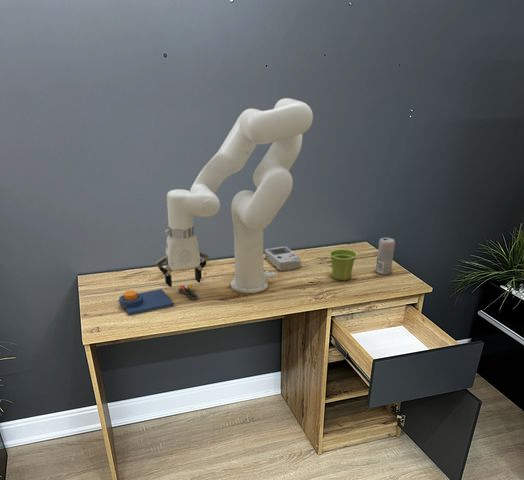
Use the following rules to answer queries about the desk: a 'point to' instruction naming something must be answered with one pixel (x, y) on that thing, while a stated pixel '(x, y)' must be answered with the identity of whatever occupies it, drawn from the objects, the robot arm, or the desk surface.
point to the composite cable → (188, 291)
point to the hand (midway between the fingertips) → (183, 283)
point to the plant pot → (342, 263)
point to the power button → (130, 295)
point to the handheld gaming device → (283, 258)
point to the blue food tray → (146, 302)
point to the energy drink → (385, 256)
